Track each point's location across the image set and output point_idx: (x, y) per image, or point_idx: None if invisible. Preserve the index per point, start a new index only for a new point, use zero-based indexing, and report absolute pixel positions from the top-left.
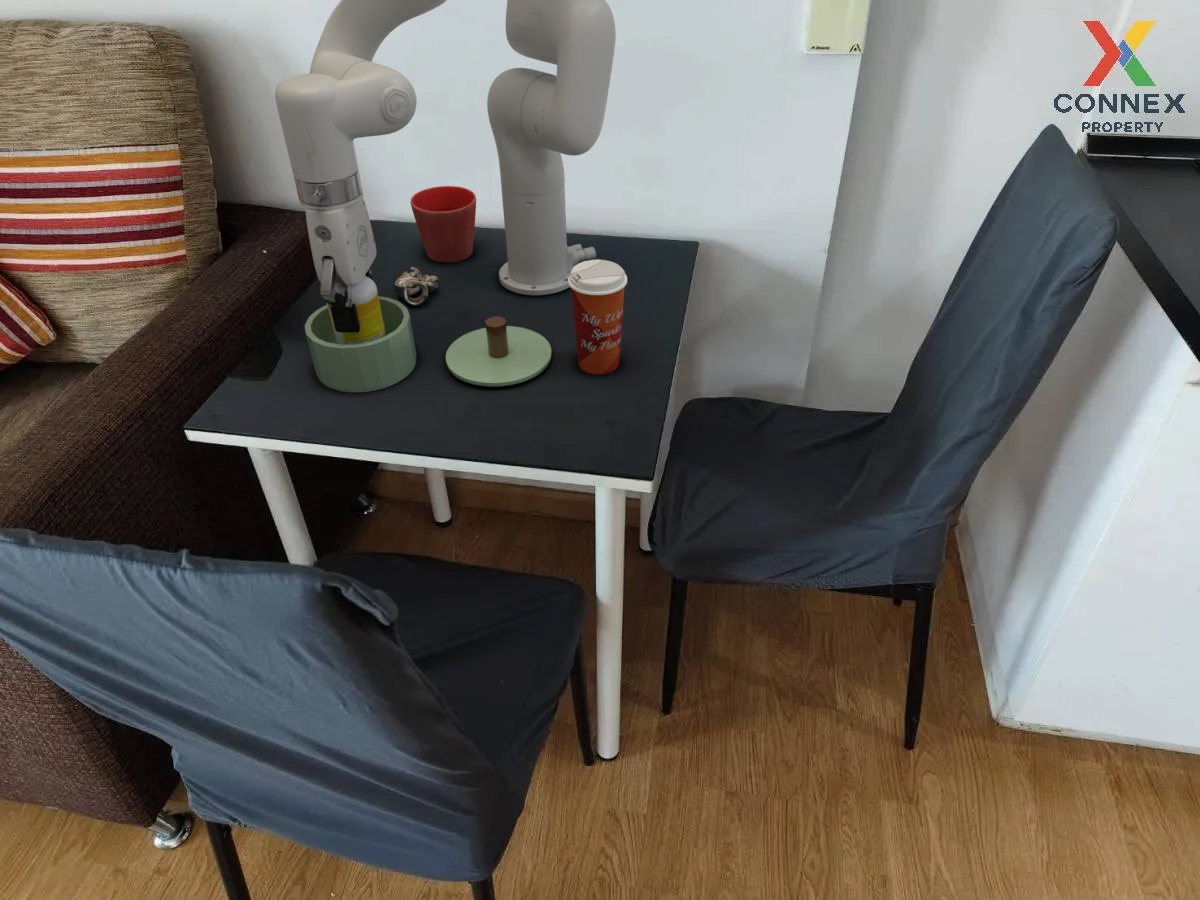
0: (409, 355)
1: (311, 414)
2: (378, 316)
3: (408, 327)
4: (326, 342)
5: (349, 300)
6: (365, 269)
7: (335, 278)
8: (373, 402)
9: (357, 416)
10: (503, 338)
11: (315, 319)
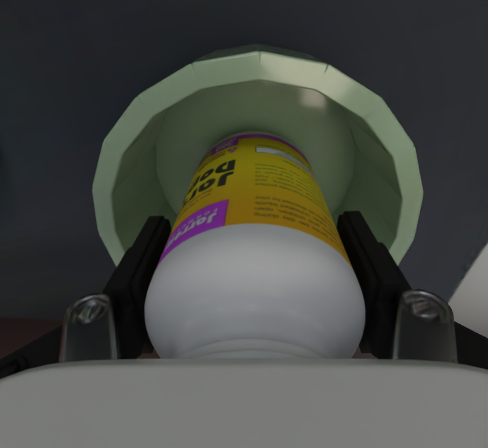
0: (277, 48)
1: (428, 215)
2: (269, 176)
3: (251, 50)
4: None
5: (425, 317)
6: (307, 396)
7: None
8: (409, 106)
9: (460, 126)
10: None
11: None
